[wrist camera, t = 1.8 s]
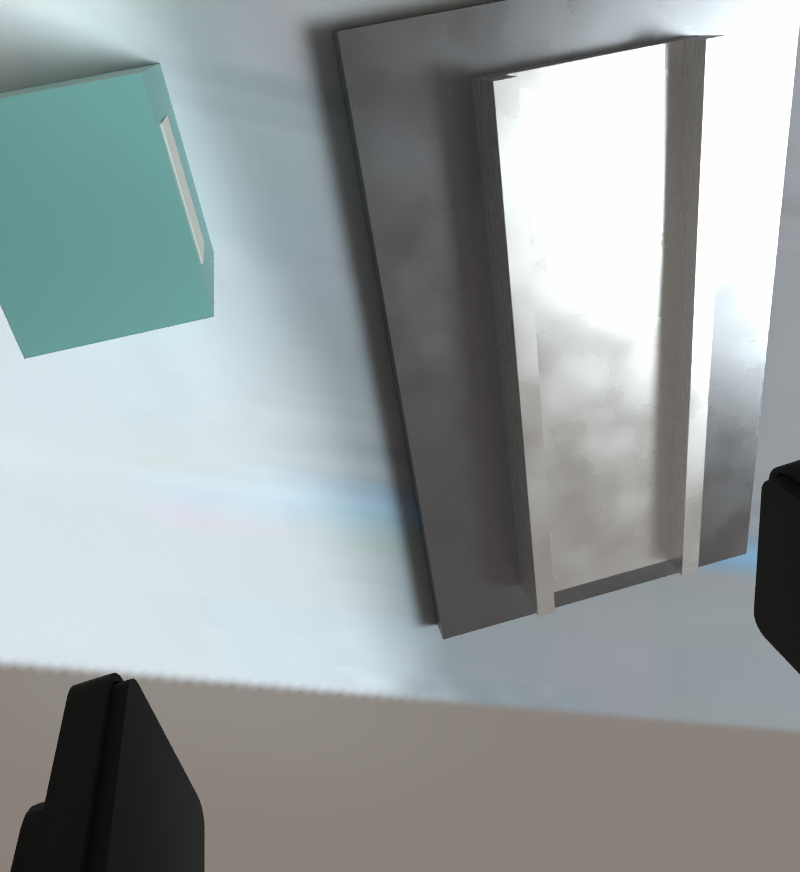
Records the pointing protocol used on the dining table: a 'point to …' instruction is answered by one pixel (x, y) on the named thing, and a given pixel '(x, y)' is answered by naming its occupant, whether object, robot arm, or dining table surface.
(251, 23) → the dining table surface
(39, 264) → the block
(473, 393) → the rail board
